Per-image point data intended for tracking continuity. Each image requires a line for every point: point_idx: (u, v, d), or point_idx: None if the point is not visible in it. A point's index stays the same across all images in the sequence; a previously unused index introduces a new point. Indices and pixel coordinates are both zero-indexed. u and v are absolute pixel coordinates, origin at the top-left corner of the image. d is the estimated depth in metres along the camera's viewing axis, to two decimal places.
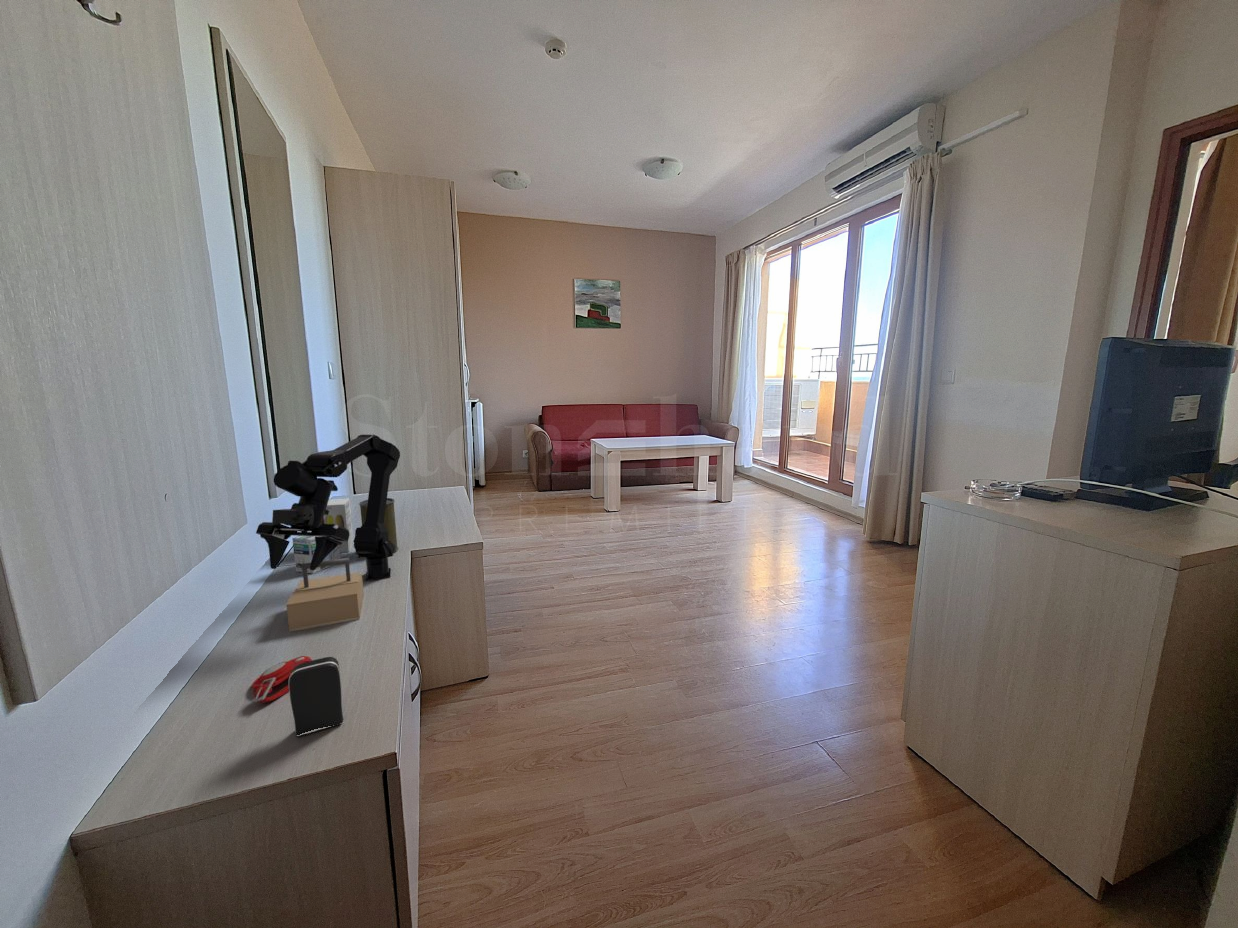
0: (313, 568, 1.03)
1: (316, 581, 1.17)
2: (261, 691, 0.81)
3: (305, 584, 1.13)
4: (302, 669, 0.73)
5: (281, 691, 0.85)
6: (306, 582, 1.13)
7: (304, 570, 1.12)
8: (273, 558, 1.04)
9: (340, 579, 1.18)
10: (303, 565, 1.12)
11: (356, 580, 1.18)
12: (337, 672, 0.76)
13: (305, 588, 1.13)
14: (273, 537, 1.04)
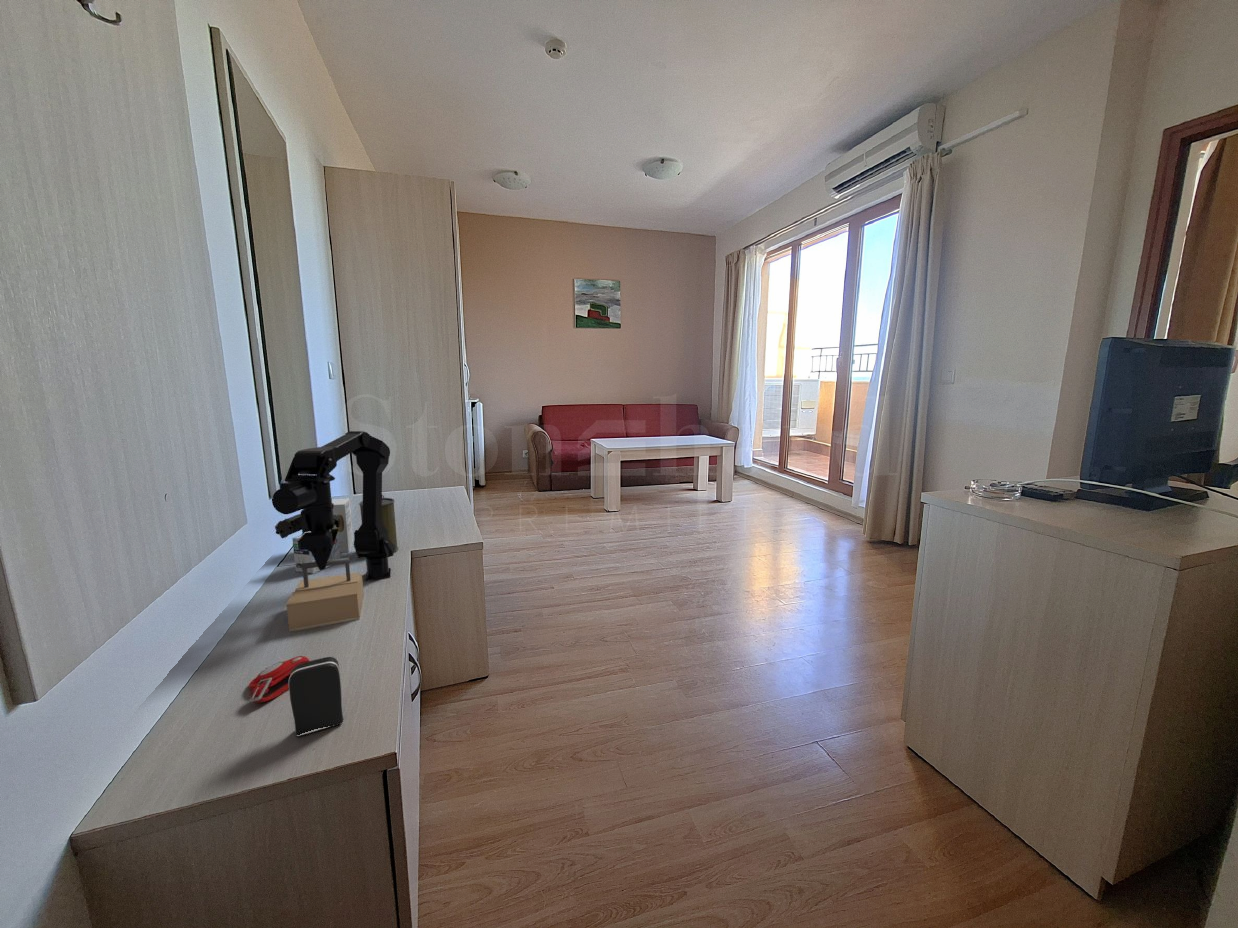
0: (321, 568, 1.09)
1: (316, 581, 1.17)
2: (257, 691, 0.81)
3: (305, 584, 1.13)
4: (302, 669, 0.73)
5: (278, 691, 0.85)
6: (306, 582, 1.13)
7: (304, 570, 1.12)
8: None
9: (340, 579, 1.18)
10: (303, 565, 1.12)
11: (356, 580, 1.17)
12: (337, 672, 0.76)
13: (305, 588, 1.13)
14: None
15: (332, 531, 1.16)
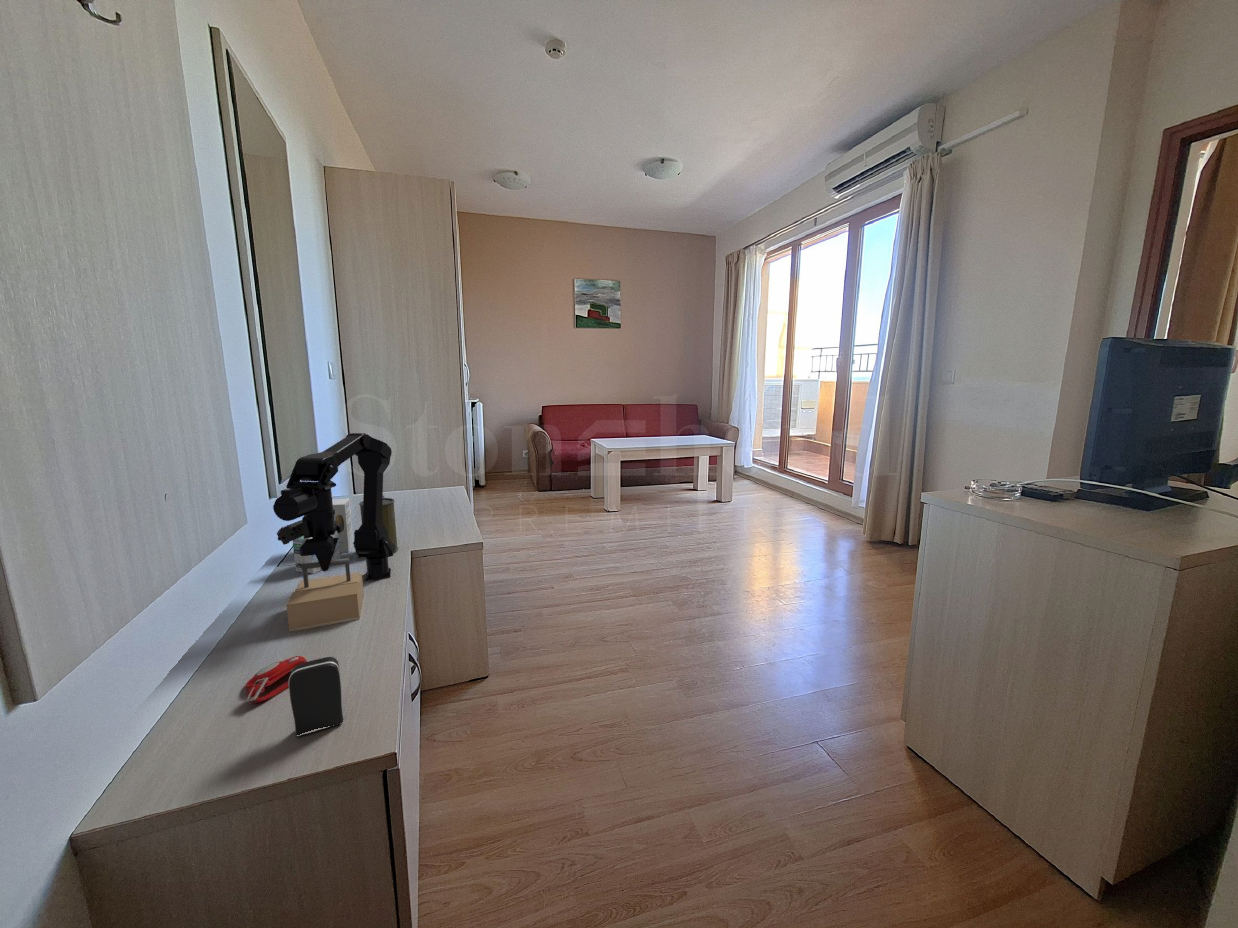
0: (324, 569, 1.13)
1: (316, 581, 1.17)
2: (253, 691, 0.81)
3: (305, 584, 1.13)
4: (302, 669, 0.73)
5: (274, 691, 0.85)
6: (306, 582, 1.13)
7: (304, 570, 1.12)
8: None
9: (340, 579, 1.18)
10: (303, 565, 1.12)
11: (356, 580, 1.18)
12: (337, 672, 0.76)
13: (305, 588, 1.13)
14: None
15: None
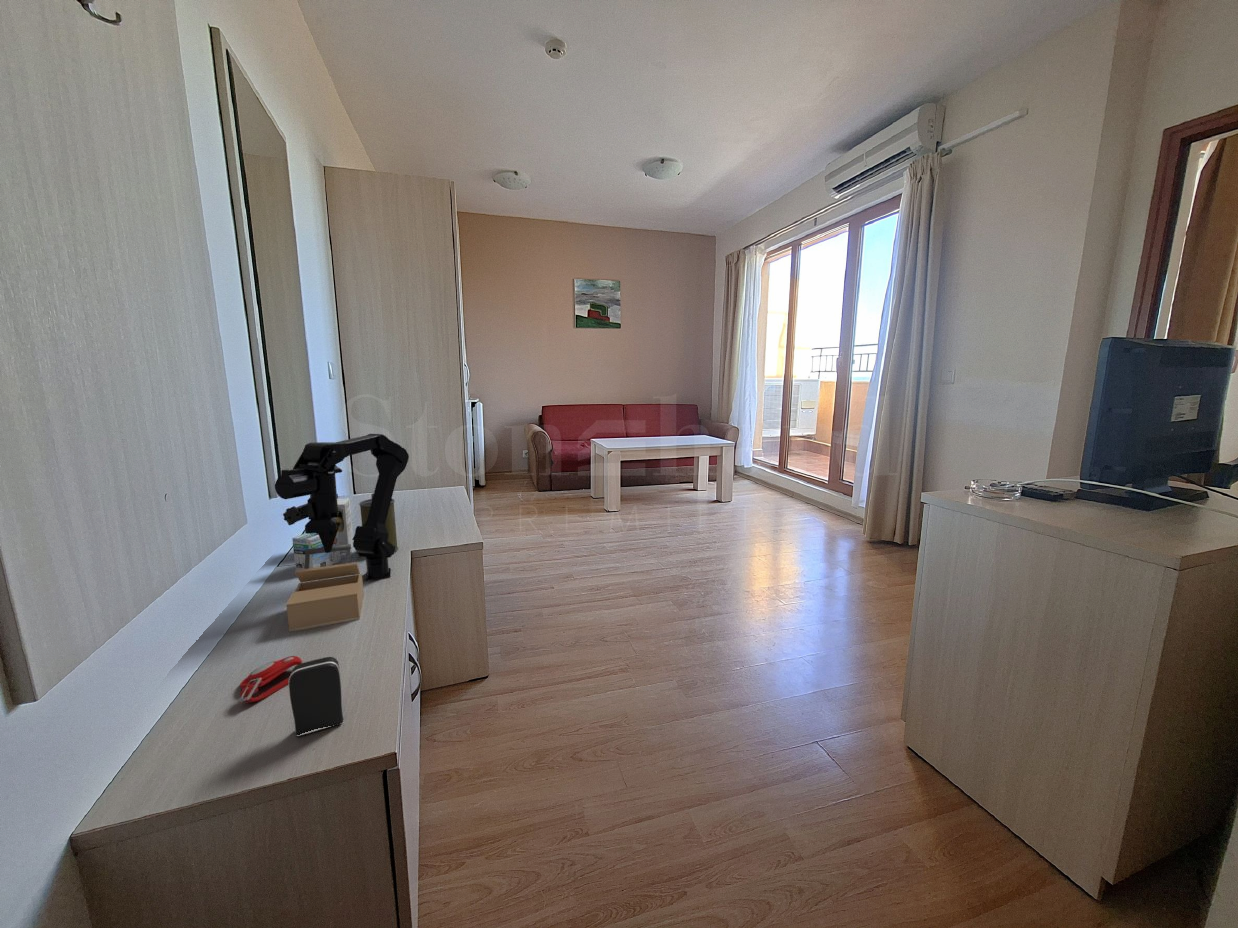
0: (327, 551, 1.18)
1: None
2: (246, 691, 0.81)
3: (305, 567, 1.15)
4: (302, 669, 0.73)
5: (268, 691, 0.85)
6: (307, 565, 1.15)
7: (307, 554, 1.16)
8: None
9: None
10: (307, 549, 1.17)
11: None
12: (337, 672, 0.76)
13: None
14: None
15: None
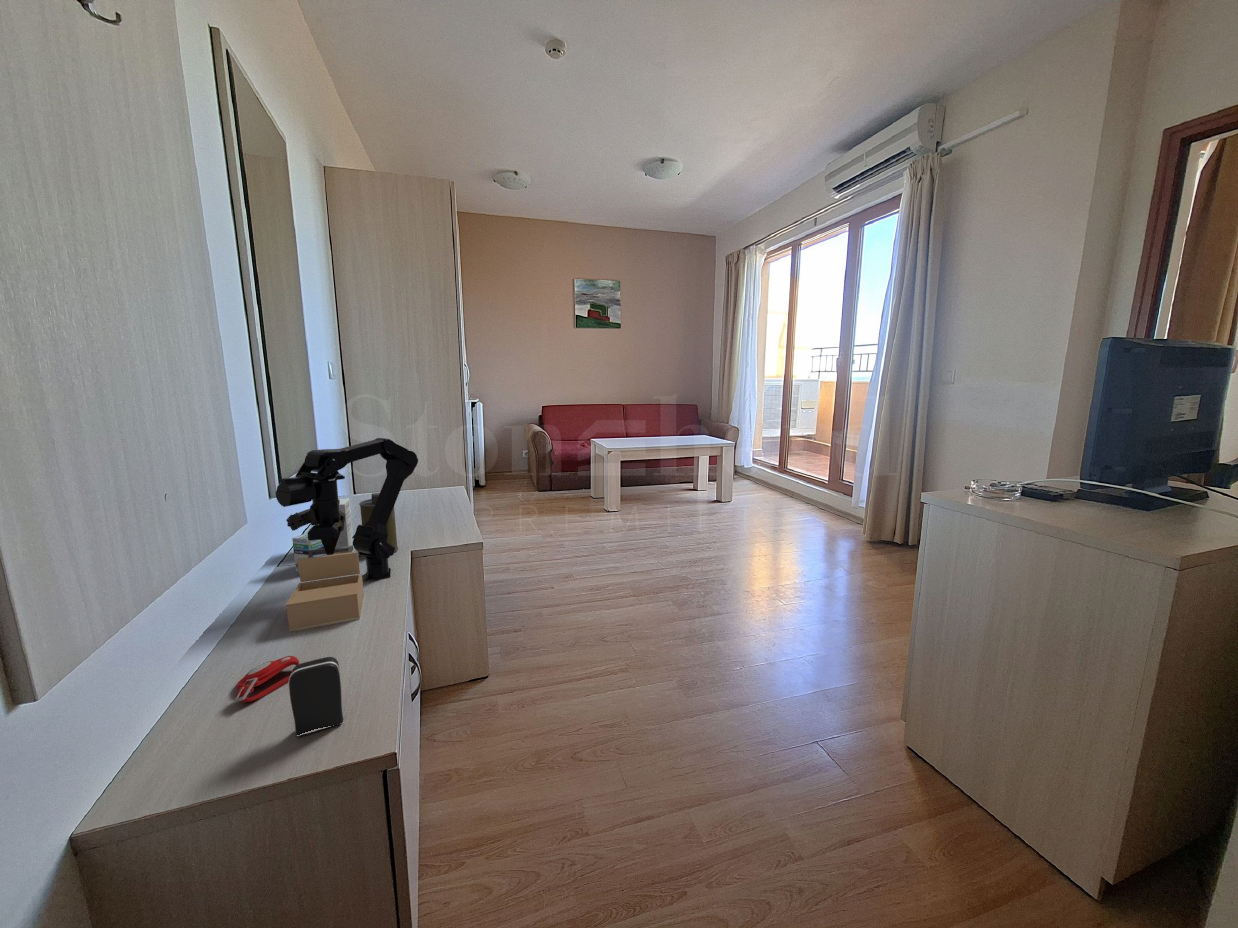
0: None
1: None
2: (242, 691, 0.81)
3: None
4: (302, 669, 0.73)
5: (264, 691, 0.85)
6: None
7: (310, 553, 1.21)
8: None
9: None
10: None
11: None
12: (337, 672, 0.76)
13: None
14: None
15: None
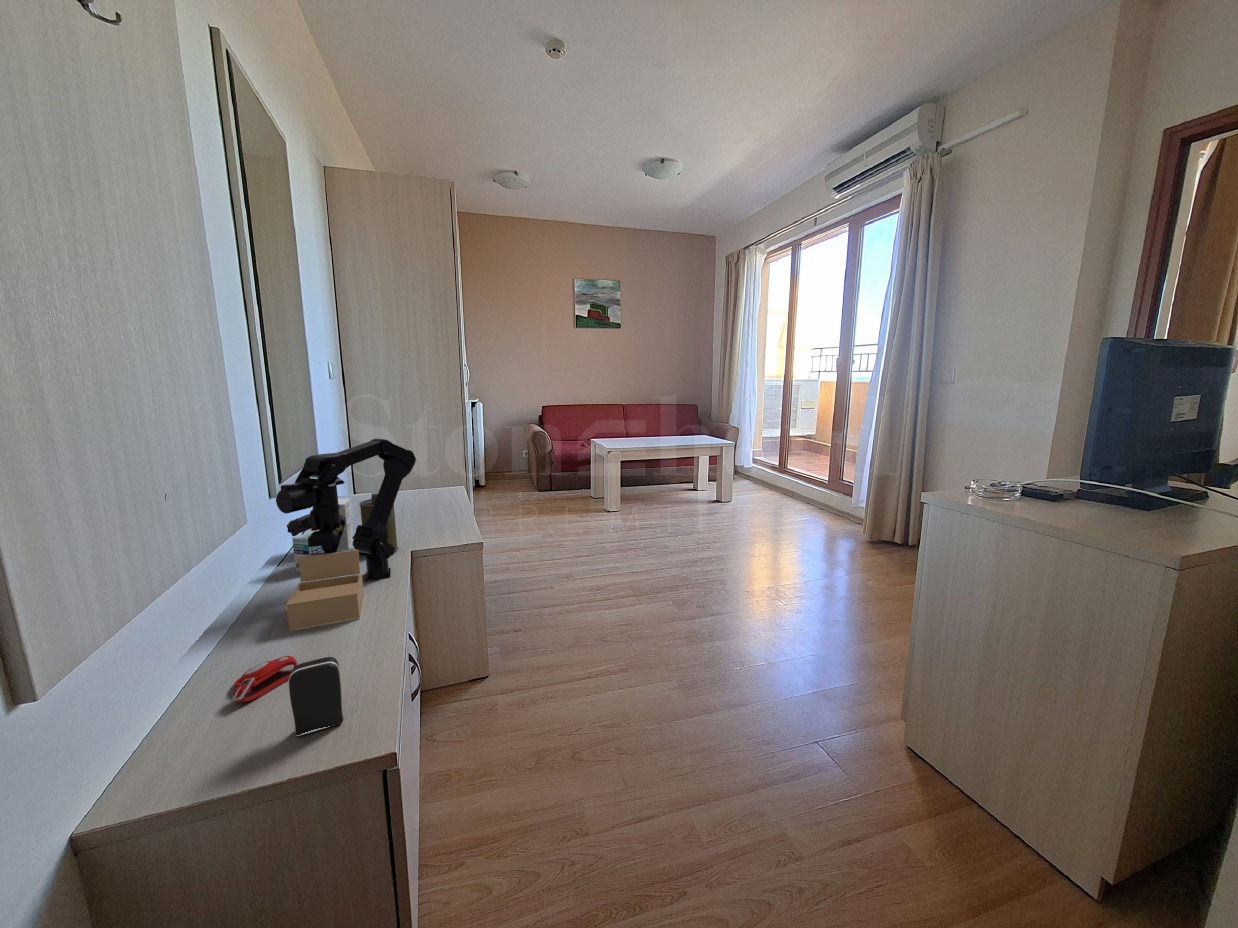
0: None
1: None
2: (239, 691, 0.81)
3: None
4: (302, 669, 0.73)
5: (261, 691, 0.85)
6: None
7: None
8: None
9: None
10: None
11: None
12: (337, 672, 0.76)
13: None
14: None
15: None
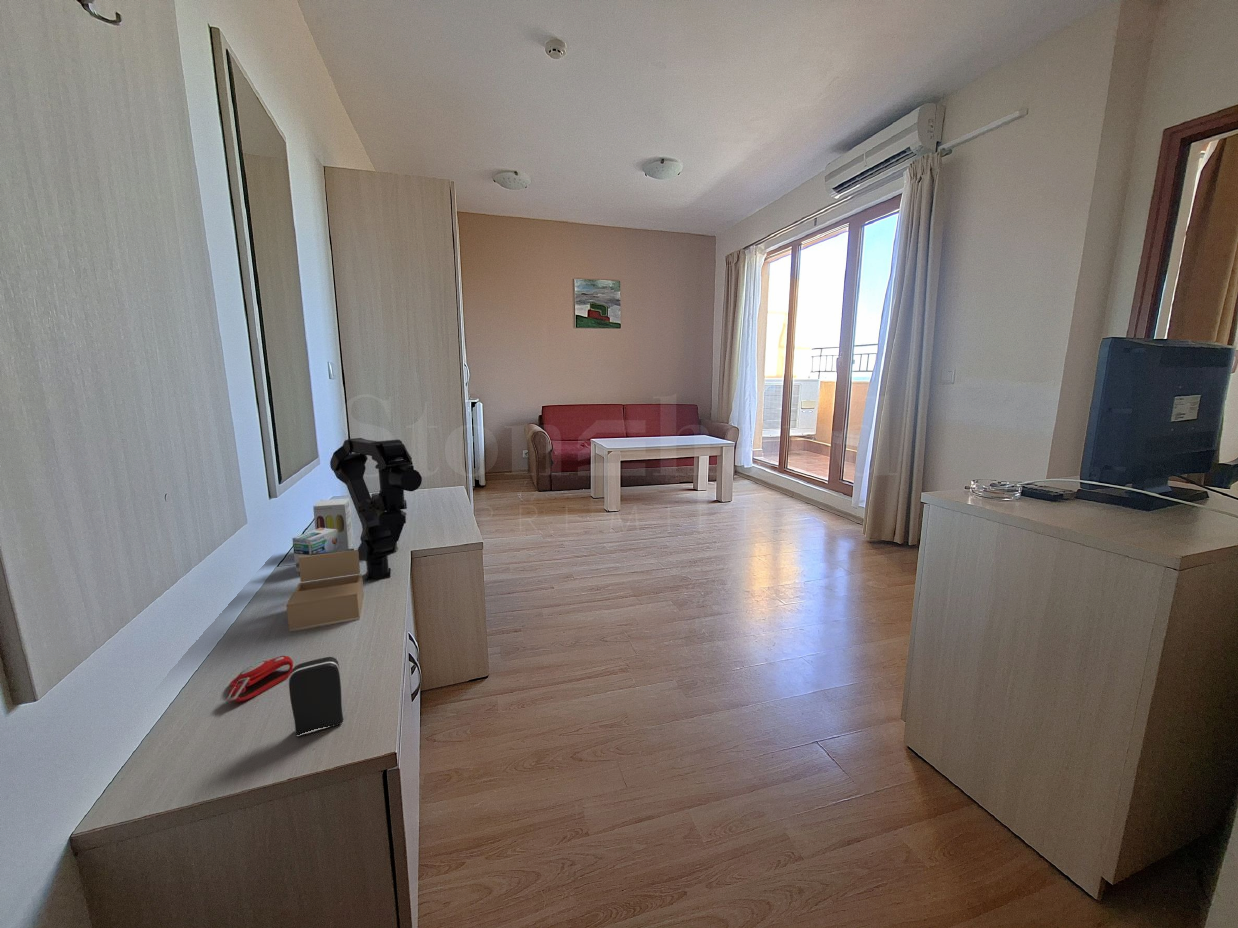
0: (395, 540, 1.27)
1: None
2: (234, 691, 0.81)
3: None
4: (302, 669, 0.73)
5: (256, 691, 0.85)
6: None
7: None
8: None
9: None
10: None
11: None
12: (337, 672, 0.76)
13: None
14: None
15: None
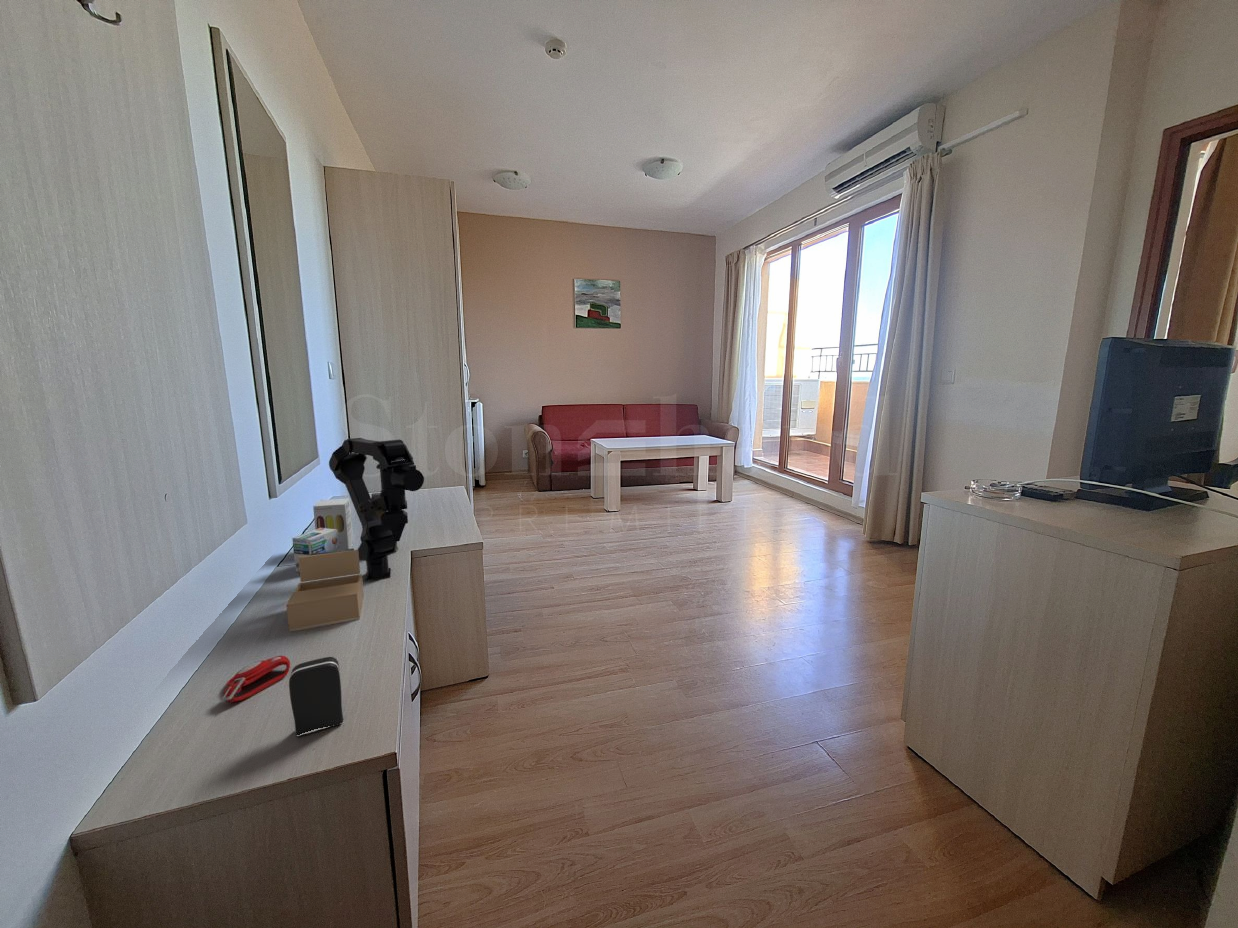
0: (396, 540, 1.28)
1: None
2: (229, 691, 0.81)
3: None
4: (302, 669, 0.73)
5: (252, 691, 0.85)
6: None
7: None
8: None
9: None
10: None
11: None
12: (337, 672, 0.76)
13: None
14: None
15: None
